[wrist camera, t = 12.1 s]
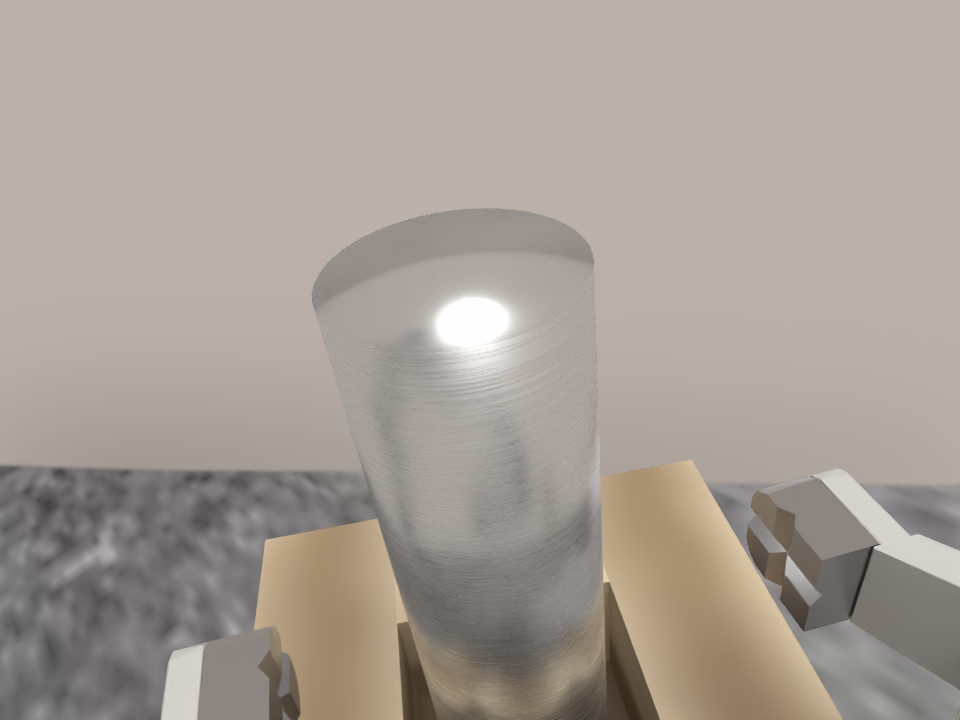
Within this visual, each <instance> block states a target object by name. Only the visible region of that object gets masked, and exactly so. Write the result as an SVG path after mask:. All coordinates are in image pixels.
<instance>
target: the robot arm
mask: <svg viewBox="0 0 960 720" xmlns="http://www.w3.org/2000/svg"><path fill="white" fill-rule="evenodd" d="M751 508H752V509H753V510H754V511H755V513H756V514H757V515H756V516H755V517H754V518H753V519H752V521H751V522H750V523H749V524H748V530H747V542H748V546H749V550H750V554H751V556H752V558H753V560H754V562H755V564H756V566H757V567H758V569H759V570H760V572H761V573H762V575H763V576H764V578H766V579H768V580H770V581H772V582H774V583H776V584H778V585H780V586H781V588H780V600H781V601H782V603H783V604H784V605H785V607H786V608H787V609H788V611H789V612H790V614H791V615H792V616H793V618H794V619H795V620H796V622H797V623H798V625H799V626H800V627H801V629H802V630H803V631H804V632H805V631H808V630H812V629H816V628H819V627H823V626H827V625H830V624H834V623H837V622H841V621H845V620H848V619H851V622H852V623H854V624H855V625H857V626H858V627H860V628H862V629H863V630H865V631H866V632H868V633H870V634H871V635H873V636H874V637H876V638H878V639H879V640H881V641H882V642H884V643H886V644H887V645H889V646H890V647H892V648H894V649H895V650H897V651H898V652H900V653H902V654H903V655H905V656H906V657H908V658H910V659H911V660H913V661H914V662H916V663H918V664H919V665H921V666H922V667H924V668H926V669H927V670H929V671H930V672H932V673H934V674H935V675H937V676H938V677H940V678H942V679H943V680H945V681H946V682H948V683H950V684H951V685H953V686H954V687H956V688H958V689H959V690H960V551H958V550H956V549H953V548H951V547H949V546H946V545H944V544H941V543H939V542H936V541H934V540H932V539H929V538H927V537H924V536H922V535H920V534H917V535H913V536H910V535H909V534H908V533H907V532H906V531H905V530H904V529H903V528H902V527H901V526H900V525H899V524H898V523H897V522H896V521H895V520H894V519H893V518H892V517H891V516H890V515H889V514H888V513H887V512H886V511H885V510H884V509H883V508H882V507H881V506H880V505H879V504H878V503H877V502H876V501H875V500H874V499H873V498H872V497H871V496H870V495H869V494H868V493H867V492H866V491H865V490H864V489H863V488H862V487H861V486H860V485H859V484H858V483H857V482H856V481H855V480H854V479H853V478H852V477H851V476H850V475H849V474H848V473H847V472H845V471H843V470H841V469H839V468H838V469H834V470H830V471H827V472H823V473H819V474H816V475H812V476H810V477H809V476H806V477H802V478H799V479H796V480H792V481H789V482H785V483H782V484H779V485H775V486H772V487H768V488H765V489H761V490H758V491H757V492H756V493H755V494H754V495H753V497H752V503H751ZM300 715H301V711H300V695H299V688H298V682H297V676H296V673H295V669H294V666H293V663H292V661H291V658H290V656H289V654H287V653H284V652H282V651H281V637H280V635H279V633H278V631H277V629H276V627H275V625H274V626H270V627H266V628H262V629H258V630H254V631H250V632H246V633H242V634H238V635H234V636H230V637H226V638H222V639H218V640H214V641H210V642H206V643H202V644H198V645H195V646H191V647H187V648H183V649H180V650H176V651H173V653H172V655H171V658H170V660H169V662H168V667H167V675H166V682H165V690H164V697H163V705H162V712H161V720H298V718H299V716H300ZM956 720H960V710H959V712H958V714H957V716H956Z"/></svg>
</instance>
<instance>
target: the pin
mask: <svg viewBox="0 0 960 720" xmlns="http://www.w3.org/2000/svg"><path fill="white" fill-rule="evenodd" d="M594 283H595V282H594V259H593V253H592V250H591V248H590V246H589V244H588V243H587V242H586V240H585V239H584V238H583V237H582V236H581V235H580V234H579V233H578V232H577V231H575V230H574V229H572V228H571V227H569V226H567V225H566V224H564V223H562V222H559V221H557V220H555V219H552V218H549V217H545V216H543V215H539V214H534V213H529V212H524V211H517V210H508V209H465V210H454V211H447V212H441V213H435V214H430V215H425V216H420V217H417V218H413V219H409V220H405V221H403V222H399V223H396V224H393V225H390V226H388V227H385V228H383V229H380V230H378V231H375V232H373V233H371V234H369V235H367V236H365V237H363V238H361V239H359V240H358V241H356V242H354V243H352V244H351V245H349V246H348V247H346V248H345V249H343V250H342V251H341V252H339V253H338V254H337V255H336V256H335V257H333V258H332V259H331V260H330V261H329V262H328V263H327V265H326V266H325V267H324V268H323V269H322V271H321V272H320V274H319V275H318V277H317V279H316V281H315V283H314V287H313V292H312V303H313V306H314V310H315V313H316V316H317V320H318V323H319V326H320V330H321V333H322V336H323V339H324V343H325V346H326V350H327V353H328V356H329V359H330V363H331V366H332V369H333V373H334V376H335V379H336V383H337V386H338V389H339V393H340V396H341V399H342V403H343V406H344V409H345V412H346V416H347V419H348V423H349V426H350V429H351V433H352V436H353V439H354V442H355V446H356V449H357V453H358V456H359V459H360V463H361V466H362V469H363V473H364V476H365V479H366V483H367V486H368V489H369V493H370V496H371V499H372V502H373V506H374V509H375V512H376V516H377V519H378V522H379V526H380V529H381V532H382V536H383V539H384V542H385V546H386V549H387V552H388V556H389V559H390V562H391V566H392V569H393V572H394V576H395V579H396V582H397V586H398V589H399V592H400V596H401V599H402V602H403V606H404V609H405V612H406V615H407V619H408V622H409V625H410V629H411V632H412V635H413V639H414V642H415V645H416V649H417V652H418V655H419V659H420V662H421V665H422V669H423V672H424V675H425V679H426V682H427V685H428V689H429V692H430V695H431V699H432V702H433V705H434V709H435V712H436V715H437V719H438V720H608V719H607V685H606V652H605V618H604V584H603V551H602V517H601V484H600V453H599V452H600V451H599V420H598V419H599V417H598V385H597V384H598V383H597V349H596V317H595V284H594Z"/></svg>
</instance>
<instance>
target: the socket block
mask: <svg viewBox="0 0 960 720" xmlns="http://www.w3.org/2000/svg"><path fill="white" fill-rule="evenodd" d="M600 484H601V517H602V551H603V584H604V618H605V652H606V685H607V719H608V720H843V718H842V717H841V715H840V713H839V712H838V710H837V708H836V706H835V705H834V703H833V701H832V700H831V698H830V696H829V695H828V693H827V691H826V689H825V688H824V686H823V684H822V683H821V681H820V679H819V677H818V676H817V674H816V672H815V671H814V669H813V667H812V665H811V664H810V662H809V660H808V659H807V657H806V655H805V653H804V652H803V650H802V648H801V647H800V645H799V643H798V641H797V640H796V638H795V636H794V635H793V633H792V631H791V629H790V628H789V626H788V624H787V623H786V621H785V619H784V617H783V616H782V614H781V612H780V611H779V609H778V607H777V605H776V604H775V602H774V600H773V599H772V597H771V595H770V593H769V592H768V590H767V588H766V587H765V585H764V583H763V581H762V580H761V578H760V576H759V575H758V573H757V571H756V570H755V568H754V566H753V564H752V563H751V561H750V559H749V558H748V556H747V554H746V552H745V551H744V549H743V547H742V546H741V544H740V542H739V540H738V539H737V537H736V535H735V534H734V532H733V530H732V528H731V527H730V525H729V523H728V522H727V520H726V518H725V516H724V515H723V513H722V511H721V510H720V508H719V506H718V504H717V503H716V501H715V499H714V498H713V496H712V494H711V492H710V491H709V489H708V487H707V486H706V484H705V482H704V480H703V479H702V477H701V475H700V474H699V472H698V470H697V469H696V467H695V465H694V463H693V462H692V460H687V461H682V462H677V463H671V464H667V465H661V466H656V467H650V468H646V469H640V470H634V471H629V472H624V473H618V474H613V475H608V476H603V477H600ZM274 625H275V627H276V629H277V631H278V633H279V635H280V637H281V651H282V652H284V653H287V654H289V656H290V658H291V661H292V663H293V666H294V669H295V673H296V676H297V682H298V688H299V695H300V711H301V715H300V716H299V718H298V720H438V719H437V715H436V712H435V709H434V705H433V702H432V699H431V695H430V692H429V689H428V685H427V682H426V679H425V675H424V672H423V669H422V665H421V662H420V659H419V655H418V652H417V649H416V645H415V642H414V639H413V635H412V632H411V629H410V625H409V622H408V619H407V615H406V612H405V609H404V606H403V602H402V599H401V596H400V592H399V589H398V586H397V582H396V579H395V576H394V572H393V569H392V566H391V562H390V559H389V556H388V552H387V549H386V546H385V542H384V539H383V536H382V532H381V529H380V526H379V522H378V519H374V520H369V521H363V522H358V523H353V524H348V525H342V526H337V527H332V528H326V529H321V530H316V531H310V532H305V533H300V534H294V535H289V536H284V537H279V538H273V539H268V540H265V548H264V556H263V564H262V572H261V579H260V587H259V595H258V603H257V611H256V618H255V626H254V630H258V629H262V628H266V627H270V626H274Z"/></svg>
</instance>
